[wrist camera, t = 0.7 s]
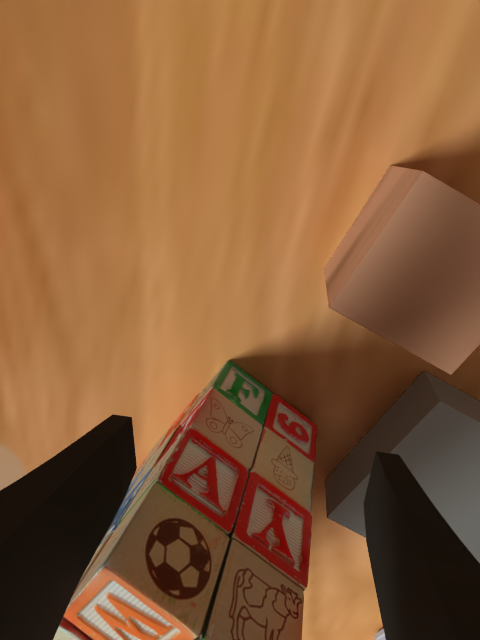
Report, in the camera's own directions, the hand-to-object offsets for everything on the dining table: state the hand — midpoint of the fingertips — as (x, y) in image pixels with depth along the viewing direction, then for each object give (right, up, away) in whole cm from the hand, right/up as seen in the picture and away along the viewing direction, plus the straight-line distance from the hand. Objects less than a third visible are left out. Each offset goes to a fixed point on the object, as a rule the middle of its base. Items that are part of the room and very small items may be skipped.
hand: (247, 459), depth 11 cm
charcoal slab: (+11, -4, +10) cm, 15 cm away
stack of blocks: (-4, -7, +14) cm, 16 cm away
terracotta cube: (+7, +7, +6) cm, 12 cm away
